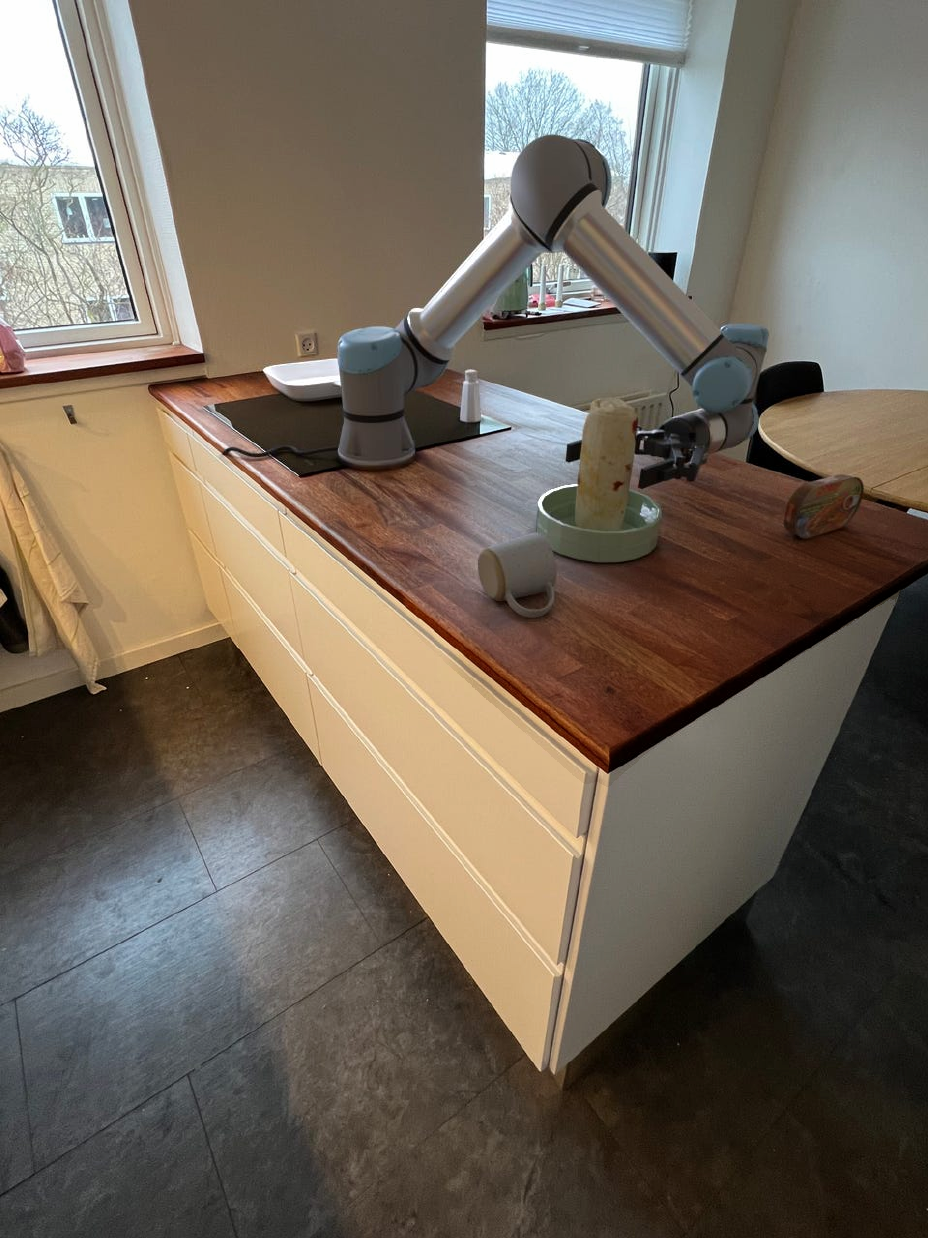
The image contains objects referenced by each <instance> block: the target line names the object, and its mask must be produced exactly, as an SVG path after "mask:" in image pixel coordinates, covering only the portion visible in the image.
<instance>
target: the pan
mask: <svg viewBox="0 0 928 1238" xmlns="http://www.w3.org/2000/svg"><path fill="white" fill-rule="evenodd" d="M262 372H263V373H264V374H265V376H266V378H267V379H268V381H269V382H270V384H271V385H272V387H273V389H275V390H277V391H278V392H280V393H281V394H283V395H284V396H285V397H287V398H288V399H291V401H292V400H293V401H296V402H315V401H323V400H330V399H336V398H342V392H341V382H340V373H339V366H338V362H337V358H329V359H327V358H326V359H321V360H320V359H318V360H310V361H309V360H308V361H302V362H292V363H284V364H275V365H269V366H266V367H265V368H263V369H262Z"/></svg>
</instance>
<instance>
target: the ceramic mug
mask: <svg viewBox="0 0 928 1238" xmlns="http://www.w3.org/2000/svg"><path fill="white" fill-rule="evenodd" d="M557 570H558V569H557V562H556V558H555V554H554V551H553V550H552V549H551V547H550V545H549V543H548V542H547V540H546V539H545V538H544V537H543V536H542V535H541V534H539V533H536V532H531V533H528V534H524V535H521V536H517V537H515V538H512V539H508V540H505V541H501V542H497V543H495V544H492V545H490V546H488V547H486V548H484V549H482V550H481V552H480V553H479V556H478V558H477V572H478V576H479V577H478V578H479V580H480V581H479V582H480V584H481V586H482V589H483V591H484V592H485V594H486V595H487V596H488V597H489V598H490V599H492V600H494V601H497V602H503V601H505V602H507V604H508V605H509V608H511V609H512V610H513V611H514V612H515V613H516V614H518V615H520V616H521V617H524V618H528V619H529V618H530V619H536V618H540V617H543V616H545V615H546V614H548V613H549V612H550V611H551V608H552V606H553V604H554V601H555V592H554V586H555V584H556V582H557V577H558V572H557ZM545 592H546V593H547V597H548V603H547V604H546V606H545V607H543V608H538V609H531V608H527V607H524V606H522V605H521V604H519V603H518V602H517V601H516V599H519V598H522V597H527V596H532V595H536V594H540V593H545Z"/></svg>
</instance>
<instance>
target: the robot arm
mask: <svg viewBox="0 0 928 1238" xmlns="http://www.w3.org/2000/svg"><path fill="white" fill-rule="evenodd" d="M519 153H520V154H519V155H518V156H517V158H516V160H515V162H514V164H513V166H512V171H511V174H510V189H509V190H510V194H509V195H508V210H507V211H506V212H505V214H504V215H503V216H502V218H500V220H498V222H497V223H495V225H494V227H493V228H492V229H491V230H490V231H489V233H488V234H486V236H485V237H484V238H483V239H482V240H481V242H480V243H479V244H478V245H477V246H476V247H475V249H474V250H473V251H471V253H470V254H469V255H468V257H467V258H466V259H465V260H464V261H463V262H462V264H461V265H460V266H459V267H458V268H457V269H456V271H454V273H453V274H452V275H451V276H450V278H448V279H447V281H446V282H445V283H444V284H443V285H442V287H441V288H439V290H438V291H437V292H436V293H435V295H434V296H433V297H432V298H431V299H430V300H429V301H428V303H427V304H426V305H425V306H424V307H423V308H420V307H415V308H411V310H410V311H409V312H408V313H407V314H406V315H405V317H404V318H403V319H402V320H401V321H400V322H399V324H398V325H397V326H396V327H395V328H393V327H389V326H383V325H382V326H381V325H380V326H379V325H377V326H366V327H364V328H357V329H353V330H350V331H347V332H346V333H344V334H343V335H342V336H341V337H340V338H339V340H338V341H337V358H336V359H337V362H338V366H339V373H340V382H341V392H342V397H341V399H342V400H341V401H342V409H343V426H342V430H341V435H340V439H339V444H338V445H335V446H327V447H321V448H319V447H318V448H316V449H309V450H304V451H303V450H298V449H297V448H296V447H294V446H292V445H279V446H276V447H274V448H271V449H269V450H266V451H263V452H250V451H247V450H245V449H242V448H240V447H237V446H230V447H227V448H225V449H224V450H223V451H222V453H221V455H222V456H223V455H228V454H229V453H231V452H237V453H239V454H241V455H244V456H247V457H250V458H263V457H267V456H270V455H273V454H275V453H277V452H280V451H285V450H286V451H292V452H293V453H295V454H296V455H298V456H310V455H314V454H319V453H325V452H331V451H332V452H333V451H337V453H338V461H339V463H341V464H342V465H343V466H345V467H347V468H350V469H354V470H359V471H387V470H394V469H399V468H402V467H405V466H407V465H410V464H411V463H412V462H413V461H414V460H415V459H416V450H417V446H416V445H417V444H416V442H415V440H413V438H412V435H411V432H410V429H409V427H408V425H407V422H406V419H405V399H404V398H405V397H404V396H405V395H406V394H408V393H411V392H413V391H416V390H418V389H420V388H425V387H428V386H430V385H432V384H434V383H435V382H436V381H438V380H439V379H440V377H442V376H443V374H444V373H445V371H446V370H447V368H448V365H449V363H450V361H451V360H452V359H453V358H454V356H455V354H456V343H457V342H458V341H459V340H460V339H462V337H463V336H464V335H465V334H466V333H467V332H468V331H469V330H470V329H471V328H472V327H473V325H475V324H476V322H478V320H479V319H480V318H481V317H482V316H483V315H484V314H485V313H486V312H487V311H488V310H489V309H490V308H491V307H492V306H493V305H494V303H496V301H498V299H500V297H501V296H503V294H504V293H505V292H507V290H508V289H510V287H511V286H512V285H514V283H515V282H516V281H517V280H518V279H519V277H521V276H522V275H523V273H524V272H525V271H527V269H529V267H530V266H531V265H532V264H533V263H534V262H535V261H536V260H537V259H538V258H539V257H540V256H541V255H542V254H544V253H545V254H555V253H557V254H558V253H564V254H565V255H566V256H567V257H568V258H569V259H570V261H571V262H573V264H574V265H575V266H576V267H577V268H578V269H579V270H580V271H581V272H582V273H583V274H584V275H585V276H586V277H587V278H588V279H589V281H591V283H592V284H593V285H594V286H595V287H596V288H597V289H598V290H599V291H600V292H601V293H602V294H603V295H604V296H605V297H606V298H607V299H608V300H609V301H610V302H611V303H612V305H613V306H614V307H615V308H616V309H617V310H618V311H619V312H620V313H621V314H622V315H623V316H624V317H625V319H627V320H628V322H630V323H631V324H632V325H633V327H635V329H636V330H637V331H638V332H639V333H640V334H641V335H642V336H643V337H644V338H645V339H646V340H647V341H648V342H649V343H650V344H651V345H652V347H653V348H655V350H656V351H657V352H658V353H659V354H660V356H661V357H663V358H664V359H665V360H666V361H667V362H668V363H669V364H670V366H671V367H672V368H673V369H674V370H676V372H677V373H678V374H679V375H680V376H681V377H682V378H683V379H684V380H685V381H686V383H687V384H688V385H689V386H690V387H691V388H692V394H693V398H694V400H695V402H696V404H697V405H698V406H699V407H700V408H699V409H697V410H696V409H695V410H693V411H689V412H686V413H683V414H679V415H676V416H673V417H670V418H668V419H666V420H665V421H664V422H663V423H662V424H661V425H660V427H659V428H658V429H653V430H643V426H641V425H638V426H637V434H636V443H635V453H634V455H636V456H650V457H657V458H660V459H663V460H662V461H659V462H656V463H654V464H650V465H647V466H645V467H642V468H640V471H639V478H638V484H637V488H638V489H641V490H644V489H647V488H650V487H652V486H654V485H657V484H660V483H663V482H668V481H670V480H681V479H682V478H685V481H686V482H689V483H695V481H696V479H697V476H698V474H699V472H700V469H701V466H703V465H705V464H707V461H708V457H709V455H712V454H716V453H718V452H721V451H724V450H727V449H731V448H734V447H736V446H739V445H740V444H742V443H744V442H746V441H747V440H749V439H751V437H753V436H754V434H755V433H756V431H757V429H758V427H759V423H760V418H759V417H760V416H759V413H758V409H757V407H756V405H755V404H754V399H755V393H756V390H757V386H758V382H759V379H760V375H761V371H762V368H763V365H764V364H763V363H764V360H765V357H766V354H767V350H768V341H769V338H770V331H769V329H768V328H767V327H765V326H763V325H757V324H751V323H750V324H749V323H729V324H725V325H723V326H722V327H720V329H719V328H718V327H717V326H716V325H715V324H714V323H713V322H712V320H711V319H710V318H709V317H707V315H706V314H705V313H704V312H703V311H702V310H701V309H700V308H699V306H697V305H696V303H695V302H693V300H692V299H691V298H690V297H689V296H688V295H687V294H686V293H685V292H684V291H683V290H682V289H681V288H680V287H679V286H678V285H677V283H676V282H675V281H674V280H673V279H672V278H671V277H670V275H668V274H667V273H666V272H665V270H664V269H662V267H661V266H659V264H658V263H657V262H656V261H655V260H654V259H653V258H652V257H651V256H650V254H648V253H647V252H646V250H644V248H643V247H642V246H641V245H640V244H639V243H638V242H637V241H636V239H634V238H633V236H631V234H629V233H628V232H627V230H626V229H625V228H624V227H623V226H622V225H621V224H620V223H619V222H618V220H616V219H615V217H613V216H612V214H611V213H610V212H609V211H608V210H607V209H606V207H607V205H608V202H609V200H610V197H611V193H612V182H613V181H612V172H611V171H612V170H611V167H610V164H609V162H608V159H607V158H606V156H605V155H604V153H603V152H602V151H601V150H600V149H599V148H598V147H597V146H595V145H594V144H593V143H591V142H590V141H589V140H586V139H583V138H570V137H567V136H564V135H562V134H560V135H559V134H554V133H551V134H545V135H541V136H539V137H536V138H534V139H533V140H532V141H531V142H529V143H527V145H526V146H525V147H524V148H523V149H522V150H521V151H520V152H519ZM641 441H642V442H643V444H642V445H643V446H642V448H641ZM581 445H582V439H580V440H576V441H572V442H569V443H567V444H566V451H565V461H564V462H566V463H569V464H570V463H573V462H576V461H580V454H581Z"/></svg>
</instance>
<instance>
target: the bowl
mask: <svg viewBox="0 0 928 1238" xmlns="http://www.w3.org/2000/svg"><path fill="white" fill-rule="evenodd" d="M577 484H578V483H577ZM577 484H570V485H564V486H563V485H562V486H560V487H557V488H553V489H550V490H548V491H546V493H543V494H542V495H541V496H540V498H539V499H538V502H537V507H536V522H535V533H539V534H541V535H542V536H543V537H544V538H545V539H546V540H547V542H548V543H549V545H550V547H551V549H552V551H553V552H555V553H556V554H559V555H562V556H566V557H568V558H572V559H576V560H579V561H587V562H593V563H594V562H595V563H621V562H626V561H632V560H637V559H640V558H641V557H644V556H646V555H649V554H650V553H651V552H652V551H653V550H654V549H655V548H656V547H657V546H658V545H657V544H658V539H659V535H660V534H659V533H660V529H661V523H662V518H663V508H662V507H661V506H660V504H659V502H657V501H656V500H655V499H652V498H651V497H650V496H648V495H646V494H643V493H641V492H639V491H636V490H633V489H630V488H629V494H628V500H627V506H626V511H625V515H624V519H623V523H622V527H621V531H597V530H589V529H582V528H578V527H576V525H575V508H576V496H577Z"/></svg>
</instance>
